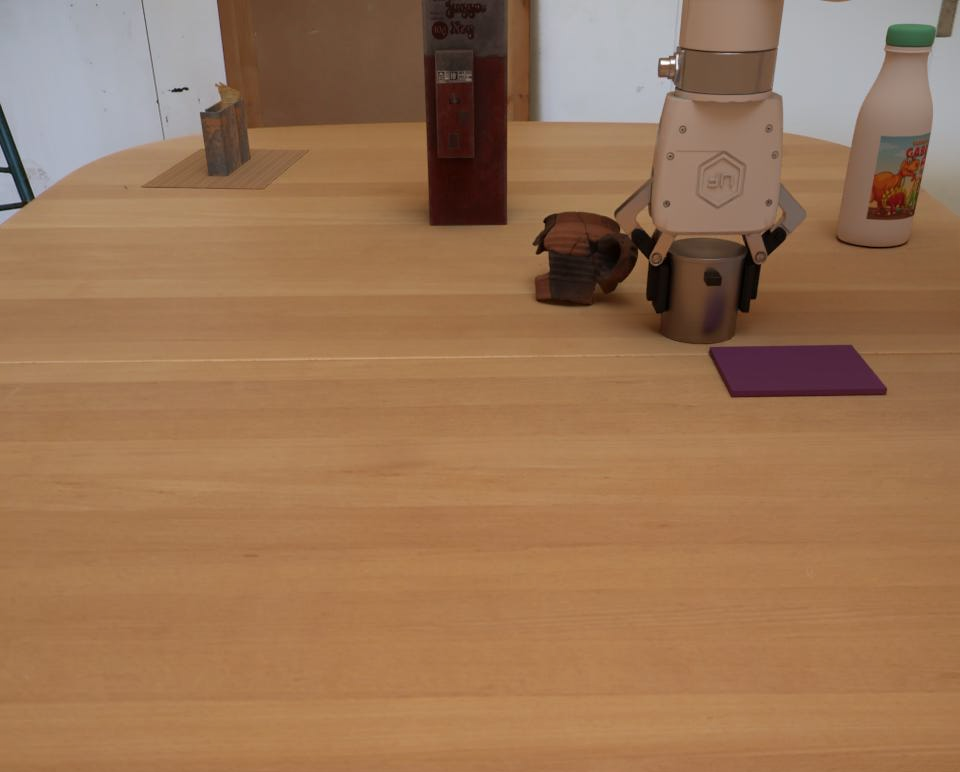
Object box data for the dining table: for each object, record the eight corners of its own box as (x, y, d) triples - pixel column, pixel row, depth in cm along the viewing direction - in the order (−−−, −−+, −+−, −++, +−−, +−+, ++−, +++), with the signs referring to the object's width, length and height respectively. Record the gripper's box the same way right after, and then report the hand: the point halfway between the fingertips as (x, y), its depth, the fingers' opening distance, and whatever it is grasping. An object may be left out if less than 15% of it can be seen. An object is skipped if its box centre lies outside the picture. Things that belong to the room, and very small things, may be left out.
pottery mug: (505, 301, 108) (515, 212, 107) (566, 325, 115) (576, 242, 114) (605, 291, 100) (618, 195, 99) (664, 318, 107) (676, 228, 106)
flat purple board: (850, 350, 95) (851, 344, 95) (886, 394, 87) (887, 388, 87) (708, 352, 95) (709, 346, 94) (731, 396, 87) (732, 390, 86)
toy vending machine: (428, 230, 128) (417, -71, 111) (432, 206, 137) (423, -76, 120) (507, 229, 128) (508, -72, 111) (506, 205, 136) (507, -77, 120)
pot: (726, 313, 103) (735, 232, 99) (747, 349, 95) (758, 263, 91) (650, 314, 103) (657, 233, 99) (666, 350, 95) (674, 264, 91)
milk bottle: (832, 245, 121) (869, 28, 109) (837, 228, 127) (874, 20, 115) (907, 251, 119) (954, 30, 107) (909, 233, 125) (953, 22, 113)
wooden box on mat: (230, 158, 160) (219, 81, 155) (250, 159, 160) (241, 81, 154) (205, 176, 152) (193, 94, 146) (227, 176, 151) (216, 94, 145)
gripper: (618, 83, 84) (604, 323, 95) (849, 80, 84) (809, 321, 95) (608, 68, 90) (596, 296, 101) (824, 66, 90) (788, 294, 101)
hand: (699, 306), depth 98 cm, fingers closed on pot, 6 cm apart
